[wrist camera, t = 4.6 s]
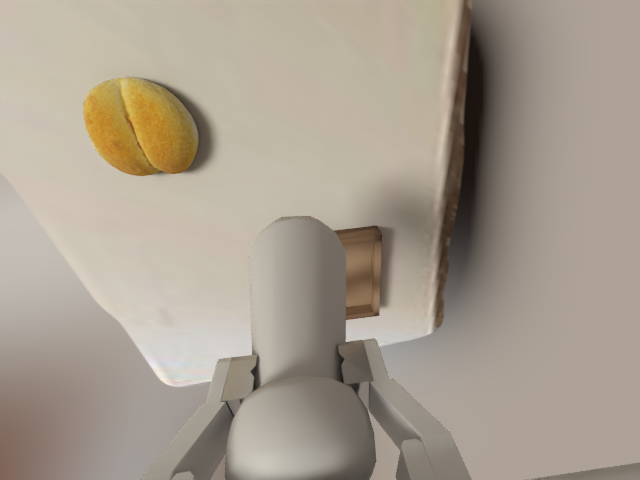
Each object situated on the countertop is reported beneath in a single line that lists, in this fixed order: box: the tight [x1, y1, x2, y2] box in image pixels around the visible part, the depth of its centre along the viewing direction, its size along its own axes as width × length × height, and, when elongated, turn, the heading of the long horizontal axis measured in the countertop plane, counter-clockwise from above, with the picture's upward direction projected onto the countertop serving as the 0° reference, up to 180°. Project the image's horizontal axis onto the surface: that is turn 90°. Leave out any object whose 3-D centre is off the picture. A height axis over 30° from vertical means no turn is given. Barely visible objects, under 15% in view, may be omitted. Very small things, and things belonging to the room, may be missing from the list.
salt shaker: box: [225, 216, 376, 480], centre depth 12 cm, size 6×6×13 cm
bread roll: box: [84, 77, 198, 176], centre depth 23 cm, size 8×9×4 cm
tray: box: [335, 226, 382, 320], centre depth 34 cm, size 13×12×2 cm
